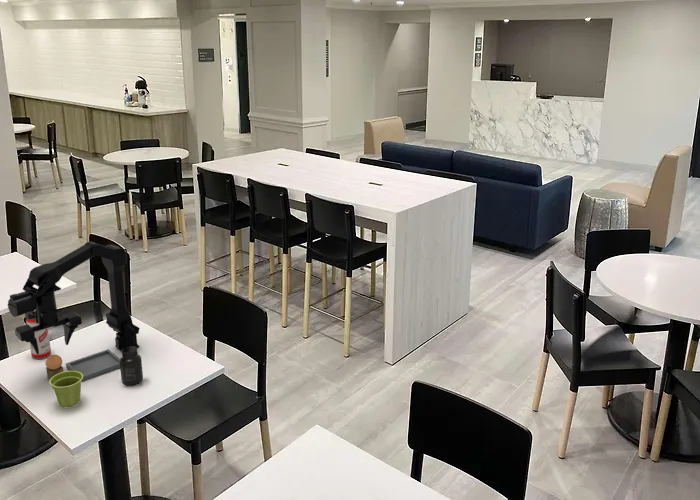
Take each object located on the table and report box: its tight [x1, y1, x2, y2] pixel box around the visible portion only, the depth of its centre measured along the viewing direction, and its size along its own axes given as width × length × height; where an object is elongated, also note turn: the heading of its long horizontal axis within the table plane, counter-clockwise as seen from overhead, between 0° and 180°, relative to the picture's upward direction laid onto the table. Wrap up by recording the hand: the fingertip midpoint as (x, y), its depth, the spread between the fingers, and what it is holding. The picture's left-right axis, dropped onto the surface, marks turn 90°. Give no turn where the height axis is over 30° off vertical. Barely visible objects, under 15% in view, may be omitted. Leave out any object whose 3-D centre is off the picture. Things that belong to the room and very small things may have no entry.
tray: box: [65, 348, 121, 383], centre depth 207 cm, size 15×12×2 cm
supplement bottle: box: [119, 346, 144, 387], centre depth 198 cm, size 7×7×12 cm
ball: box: [45, 353, 63, 370], centre depth 198 cm, size 5×5×5 cm
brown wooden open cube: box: [45, 365, 65, 381], centre depth 200 cm, size 4×4×4 cm
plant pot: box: [48, 370, 83, 409], centre depth 186 cm, size 9×9×9 cm
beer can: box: [25, 319, 52, 360], centre depth 211 cm, size 6×6×16 cm
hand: (52, 349), depth 197 cm, fingers open, 9 cm apart
